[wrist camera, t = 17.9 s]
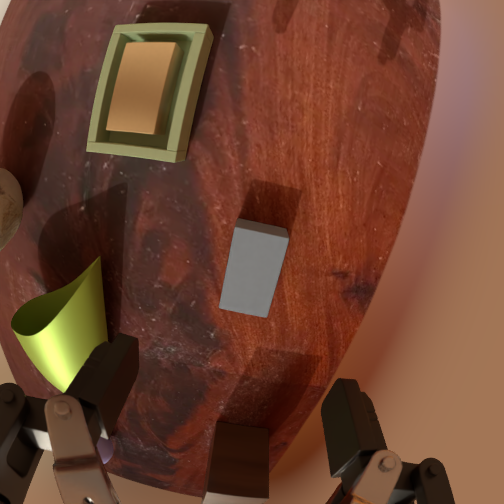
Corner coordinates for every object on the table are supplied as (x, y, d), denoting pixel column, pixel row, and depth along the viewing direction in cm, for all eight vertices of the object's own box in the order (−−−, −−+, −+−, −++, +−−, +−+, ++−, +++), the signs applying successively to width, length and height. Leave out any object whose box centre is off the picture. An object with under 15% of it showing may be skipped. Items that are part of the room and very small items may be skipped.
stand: (216, 420, 32) (206, 491, 22) (268, 428, 33) (269, 498, 22) (209, 449, 36) (200, 508, 25) (254, 455, 36) (252, 514, 26)
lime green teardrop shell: (-26, 276, 15) (45, 411, 24) (81, 284, 17) (131, 427, 26) (14, 239, 22) (60, 369, 31) (110, 239, 24) (138, 378, 33)
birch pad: (139, 50, 17) (126, 42, 15) (184, 52, 17) (176, 42, 15) (120, 130, 20) (105, 130, 17) (165, 135, 20) (153, 134, 17)
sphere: (125, 444, 37) (114, 474, 31) (96, 439, 38) (84, 466, 32) (105, 422, 35) (91, 454, 28) (76, 417, 36) (61, 445, 29)
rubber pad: (237, 217, 23) (235, 226, 20) (286, 228, 23) (289, 238, 20) (222, 293, 25) (218, 308, 23) (266, 302, 25) (266, 317, 23)
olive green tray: (129, 35, 17) (115, 25, 14) (214, 36, 17) (208, 23, 15) (103, 149, 21) (85, 151, 18) (185, 160, 21) (175, 162, 18)
